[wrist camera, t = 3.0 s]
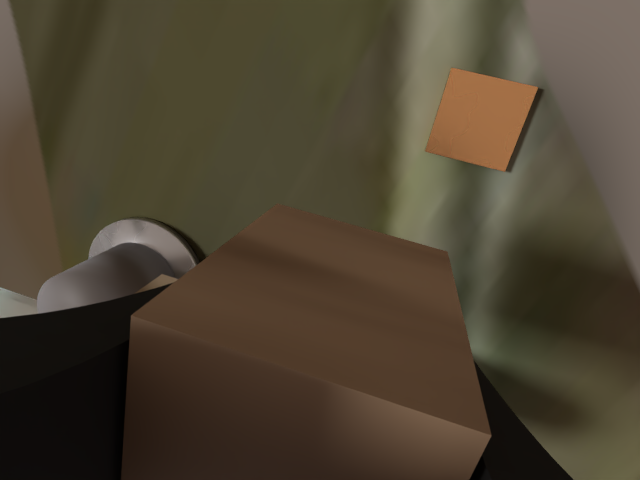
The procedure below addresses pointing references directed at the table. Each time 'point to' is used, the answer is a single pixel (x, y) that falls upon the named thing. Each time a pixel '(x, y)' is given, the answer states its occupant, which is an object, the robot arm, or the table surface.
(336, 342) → the block
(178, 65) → the table surface
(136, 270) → the crank
